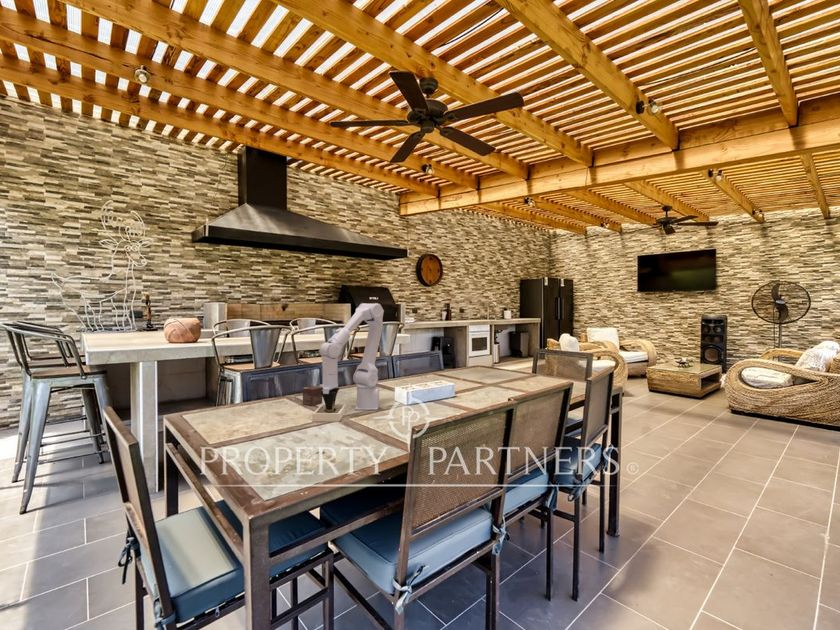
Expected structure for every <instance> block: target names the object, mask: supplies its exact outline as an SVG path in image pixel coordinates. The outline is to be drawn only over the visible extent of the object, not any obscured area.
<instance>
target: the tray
mask: <svg viewBox="0 0 840 630" xmlns="http://www.w3.org/2000/svg"><path fill="white" fill-rule="evenodd" d="M322 407H326V406H325V403H321V404H319V407H317V408H316V409H315V411H313V413H312V422H315V423H317V422H321V423H323V422H324V423H325V422H329V423H331V422H333V423H334V422H335V423H337V422H339V423H340V421H341V420H342V419H343V417H344V416H345V414H346V413H347V403H342V404H341V403H335V405H334V407H342V408H341V409H340V411H339V412H338V413H318V412H319V410H320V409H321V408H322Z"/></svg>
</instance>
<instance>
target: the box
mask: <svg viewBox="0 0 840 630" xmlns="http://www.w3.org/2000/svg"><path fill="white" fill-rule="evenodd" d="M322 391H323V388H322V387H320V386H319V385H317V386H316V385H310V386H306V387H302V405H304V406H311V407H315V406H317V405H321V404H323V397H322V395H321V392H322Z"/></svg>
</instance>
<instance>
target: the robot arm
mask: <svg viewBox="0 0 840 630" xmlns="http://www.w3.org/2000/svg"><path fill="white" fill-rule="evenodd" d="M384 312H385V310H384V309H383V307H382V305H381V304H380V303H376V302H374V303H364V302H361V303H360V304H359V305H358V307H356V308H355V312H354V314H353V315H352V316H351V317H350V318H349V320H348V321H347V323H346V324H345V326H344V327H339V328H338V329H336V330H334V331H335V332H334V334H333V335H332V336H331V337H330V338H328V340H327V342H323V343H322V345H321V346H320V349H318V353H319V355H320V356H321V360H322V365H321V366H322V367H321V368H322V369H321V370H322V384H319V387H322V392H321V395H322V400H323V402H324V404H325V406H326V410H332V407H333V404H334V405H335V404H336V399H337V395H338V393H339V390H340V388H339V383H338V381H339V380H338V375H339V373H338V368H339V367H338V366H339V365H338V357H339V356H340V355H341V352H342V349H343V347H344V346H345V344H346V343H347V342H348V341H349V340H350V339H351V333H352V332H353V331H354V330H356V328H357V327H358V326H359V325H360V324H361V323H362V322H363V321H364V322H365V323H366V324H367V325H368V332H367V336H366V341H365V346H364V352H363V355H362V360H361V363H360V364H358V365H357V367H356V370H355V372H354V374H353V377H352V378H353V379H352V380H353V382H354V383H355V387H356V406H355V408H354V410H356V411H357V410H360V411H365V410H366V411H368V410H369V411H370V410H373V411H375V410H376V411H377V410H379V407H380V403H381V402H380V401H381V400H380V387H379V386H376V385H377V384H378V381H379V376H378V372H379V370H378V368H377V367H376V365H375V364H376V361H377V355H378V350H379V345H380V342H381V336H382V331H383V326H384V321H383V317H384Z"/></svg>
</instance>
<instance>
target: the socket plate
mask: <svg viewBox="0 0 840 630" xmlns="http://www.w3.org/2000/svg"><path fill="white" fill-rule="evenodd" d="M341 408H342V407H334V412H326V407H322V408H321V409H320V410H319V412H318V413H338V412H339V411H340V409H341Z"/></svg>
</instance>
